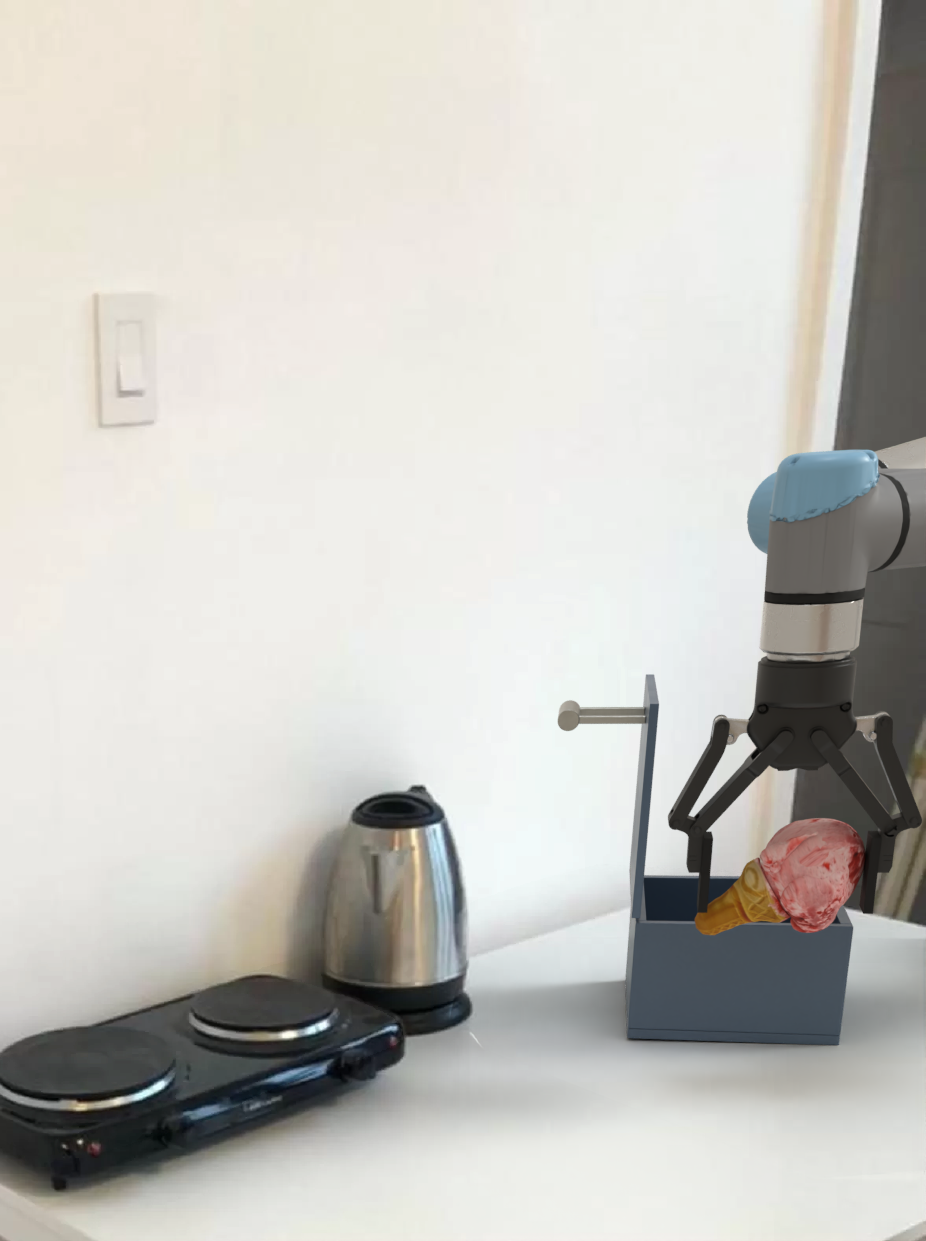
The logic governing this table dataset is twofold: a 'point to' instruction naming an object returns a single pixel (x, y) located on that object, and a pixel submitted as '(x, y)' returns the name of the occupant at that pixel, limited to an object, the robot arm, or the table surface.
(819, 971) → the box
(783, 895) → the ice cream
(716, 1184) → the table surface
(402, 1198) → the table surface
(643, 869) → the freezer lid
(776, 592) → the robot arm
